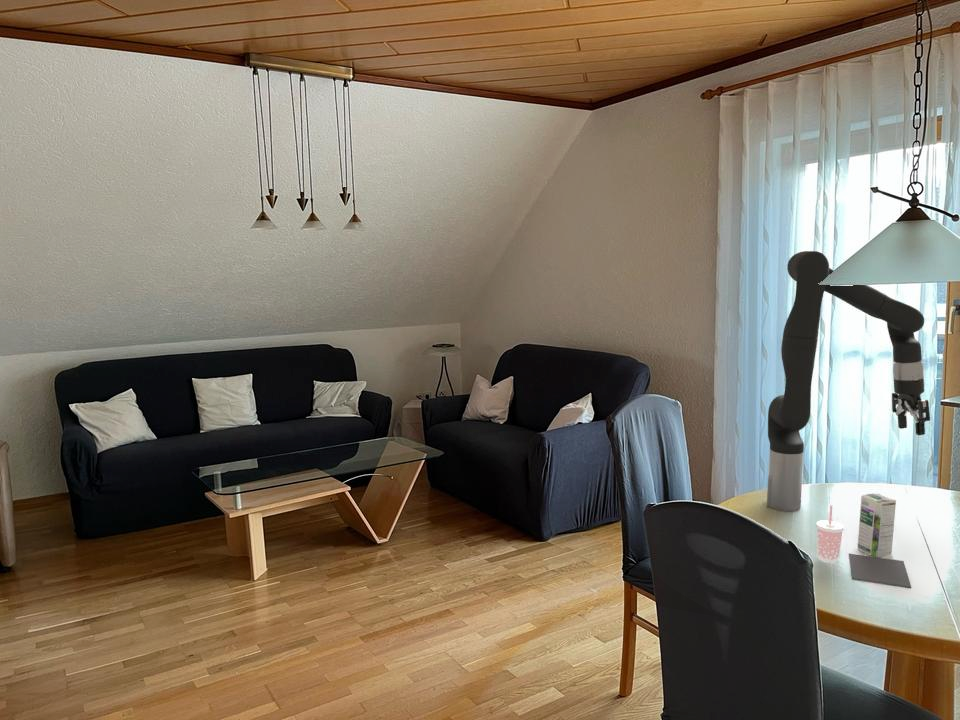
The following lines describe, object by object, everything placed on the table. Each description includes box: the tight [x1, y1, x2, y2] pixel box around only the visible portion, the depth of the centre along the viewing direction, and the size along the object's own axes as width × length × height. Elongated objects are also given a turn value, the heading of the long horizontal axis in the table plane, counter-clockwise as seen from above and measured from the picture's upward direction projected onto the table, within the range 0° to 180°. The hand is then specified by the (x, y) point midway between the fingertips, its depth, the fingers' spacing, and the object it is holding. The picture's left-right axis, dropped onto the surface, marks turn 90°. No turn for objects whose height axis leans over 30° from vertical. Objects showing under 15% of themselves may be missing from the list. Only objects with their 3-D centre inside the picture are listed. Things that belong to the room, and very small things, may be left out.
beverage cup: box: [816, 504, 845, 564], centre depth 181 cm, size 6×6×14 cm
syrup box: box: [857, 493, 897, 558], centre depth 185 cm, size 6×6×14 cm
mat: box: [848, 553, 912, 589], centre depth 176 cm, size 12×15×1 cm
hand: (911, 431), depth 213 cm, fingers open, 8 cm apart
